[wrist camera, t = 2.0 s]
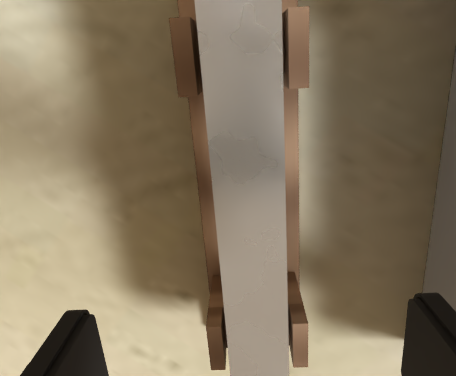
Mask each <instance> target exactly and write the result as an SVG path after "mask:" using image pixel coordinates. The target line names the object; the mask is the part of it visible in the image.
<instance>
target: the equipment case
mask: <svg viewBox="0 0 456 376" xmlns="http://www.w3.org/2000/svg"><path fill="white" fill-rule="evenodd" d="M435 292H436V293H439V294H440V295H441V296H442V297H443V298H444V299H445V300H446V301H447V302H448V303H449V305H450V306H451V307H452V308H453V309H454V310H455V311H456V49H455V56H454V64H453V71H452V78H451V86H450V93H449V100H448V108H447V115H446V122H445V130H444V137H443V144H442V152H441V159H440V166H439V174H438V181H437V188H436V196H435V203H434V210H433V218H432V225H431V232H430V240H429V247H428V254H427V262H426V269H425V276H424V284H423V291H422V293H435Z"/></svg>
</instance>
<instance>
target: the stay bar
mask: <svg viewBox="0 0 456 376" xmlns="http://www.w3.org/2000/svg"><path fill="white" fill-rule="evenodd" d="M194 1H195V11H196V22H197V32H198V43H199V53H200V64H201V74H202V84H203V95H204V105H205V116H206V126H207V137H208V147H209V157H210V168H211V178H212V189H213V199H214V209H215V220H216V230H217V241H218V251H219V262H220V272H221V282H222V293H223V303H224V314H225V324H226V334H227V345H228V355H229V366H230V376H289V338H288V289H287V239H286V190H285V141H284V91H283V42H282V0H194Z"/></svg>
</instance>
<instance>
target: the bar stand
mask: <svg viewBox="0 0 456 376" xmlns="http://www.w3.org/2000/svg"><path fill="white" fill-rule="evenodd" d="M177 1H178V10H179V17H177V18H169V22H170V31H171V39H172V47H173V56H174V64H175V72H176V81H177V89H178V97H188V100H189V109H190V118H191V127H192V136H193V145H194V154H195V163H196V172H197V181H198V190H199V199H200V208H201V217H202V226H203V235H204V244H205V254H206V263H207V272H208V281H209V290H210V300H209V308H208V316H207V324H206V331H207V339H208V348H209V356H210V364H211V370H225V366H226V348H228V345H227V334H226V324H225V314H224V303H223V293H222V282H221V272H220V262H219V251H218V241H217V230H216V220H215V209H214V199H213V189H212V178H211V168H210V157H209V147H208V137H207V126H206V116H205V105H204V95H203V84H202V74H201V64H200V53H199V43H198V32H197V22H196V11H195V1H194V0H177ZM282 42H283V91H284V141H285V190H286V239H287V289H288V338H289V345H290V351H291V356H292V362H293V367H308V321H307V317H306V313H305V310H304V306H303V302H302V298H301V294H300V290H299V149H298V88H309V6H304V7H298V0H282Z"/></svg>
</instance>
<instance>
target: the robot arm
mask: <svg viewBox="0 0 456 376" xmlns="http://www.w3.org/2000/svg"><path fill="white" fill-rule="evenodd" d="M401 375H402V376H456V311H455V310H454V309H453V308H452V307H451V306H450V305H449V303H448V302H447V301H446V300H445V299H444V298H443V297H442V296H441V295H440V294H439V293H436V292H435V293H417V294H415V296H414V299H410V300H409V302H408V310H407V320H406V329H405V339H404V348H403V357H402V367H401ZM20 376H109V375H108V370H107V366H106V362H105V358H104V353H103V349H102V345H101V341H100V336H99V332H98V328H97V324H96V319H95V316H94V315H93V314H89V312H88V310H68V311H66V312H65V313H64V314H63V316H62V317H61V319H60V320H59V322H58V323H57V324H56V326H55V327H54V329H53V330H52V332H51V333H50V334H49V336H48V337H47V339H46V340H45V342H44V343H43V345H42V346H41V347H40V349H39V350H38V352H37V353H36V355H35V356H34V357H33V359H32V360H31V362H30V363H29V364H28V365H27V366H26V368H25V369H24V371H23V372H22V374H21V375H20Z"/></svg>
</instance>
